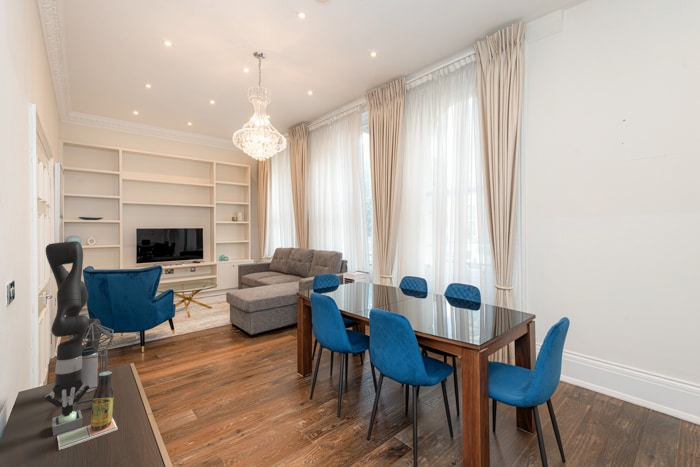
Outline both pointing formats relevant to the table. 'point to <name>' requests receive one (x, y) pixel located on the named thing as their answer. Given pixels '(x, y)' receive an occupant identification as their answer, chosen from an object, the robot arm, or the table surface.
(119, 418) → the table surface
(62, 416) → the button
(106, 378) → the sauce bottle
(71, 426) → the button housing
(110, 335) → the geometric lantern
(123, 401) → the table surface
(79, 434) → the colouring card
